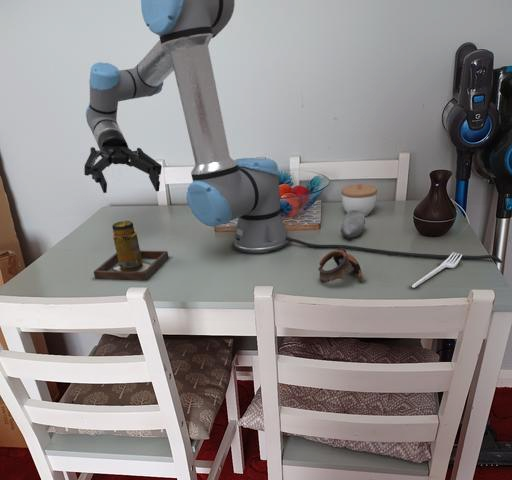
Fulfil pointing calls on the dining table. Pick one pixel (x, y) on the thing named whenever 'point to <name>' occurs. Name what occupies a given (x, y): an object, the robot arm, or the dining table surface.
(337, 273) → the brown curved ring piece
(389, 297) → the dining table surface
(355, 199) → the trinket box
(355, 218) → the grey oval rock
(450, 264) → the fork
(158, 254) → the caddy
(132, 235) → the condiment
